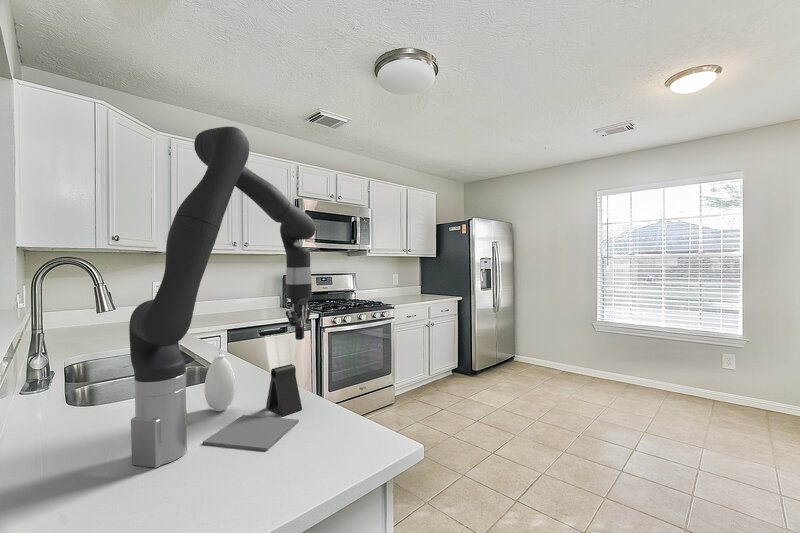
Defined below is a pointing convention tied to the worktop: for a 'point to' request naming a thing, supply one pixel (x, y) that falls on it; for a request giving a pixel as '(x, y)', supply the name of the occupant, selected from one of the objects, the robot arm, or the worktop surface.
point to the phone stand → (283, 391)
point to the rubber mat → (252, 432)
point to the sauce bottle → (220, 384)
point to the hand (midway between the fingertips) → (299, 339)
